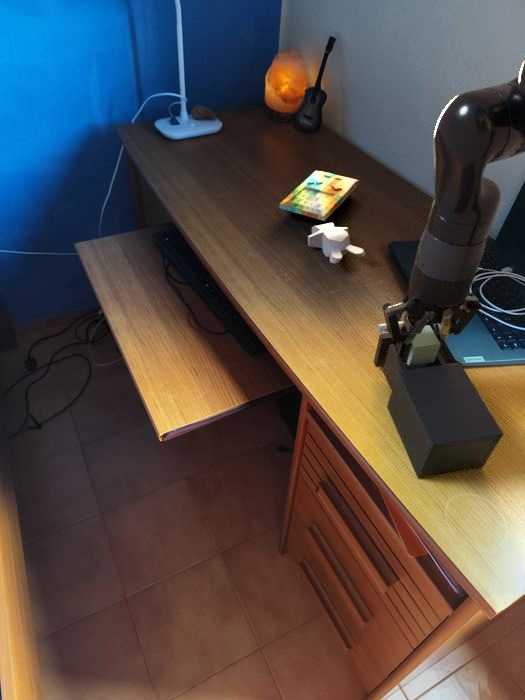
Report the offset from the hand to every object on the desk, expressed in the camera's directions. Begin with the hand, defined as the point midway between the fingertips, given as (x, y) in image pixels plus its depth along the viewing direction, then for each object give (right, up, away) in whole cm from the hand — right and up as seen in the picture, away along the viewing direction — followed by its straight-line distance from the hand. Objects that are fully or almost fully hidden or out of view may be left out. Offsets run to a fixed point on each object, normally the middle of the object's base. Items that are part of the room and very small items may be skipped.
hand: (416, 353), depth 71 cm
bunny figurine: (-8, +22, +32) cm, 40 cm away
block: (0, 0, 0) cm, 0 cm away
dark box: (+2, -12, -1) cm, 13 cm away
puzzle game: (-9, +37, +46) cm, 60 cm away
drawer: (0, -4, +6) cm, 7 cm away
